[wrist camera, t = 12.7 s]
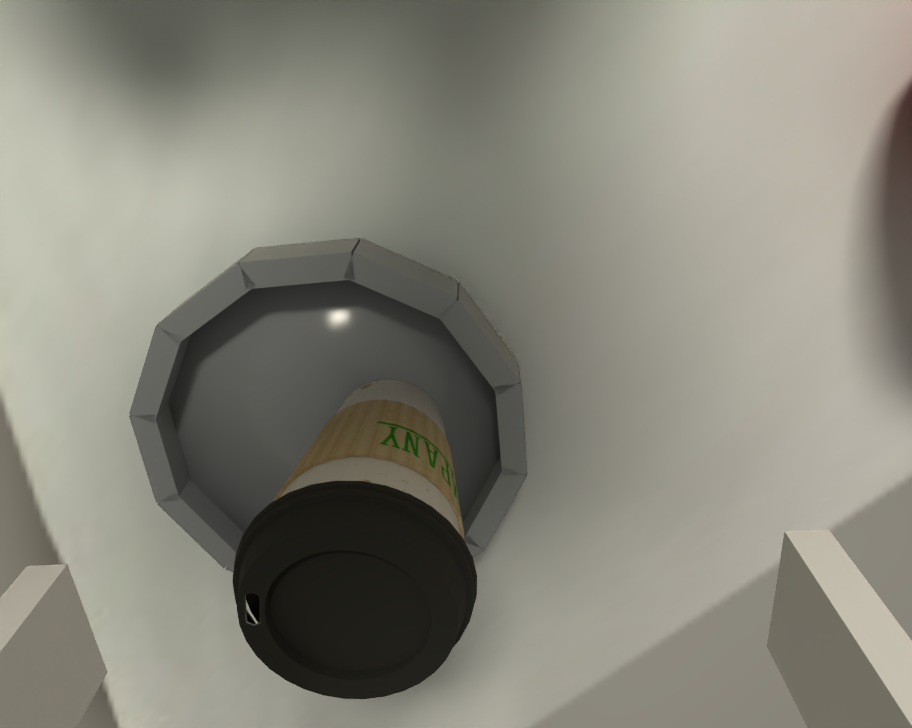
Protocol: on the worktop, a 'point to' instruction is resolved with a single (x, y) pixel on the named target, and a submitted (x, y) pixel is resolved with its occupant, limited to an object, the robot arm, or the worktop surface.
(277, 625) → the coffee cup
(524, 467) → the tray
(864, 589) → the robot arm
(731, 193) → the worktop surface
